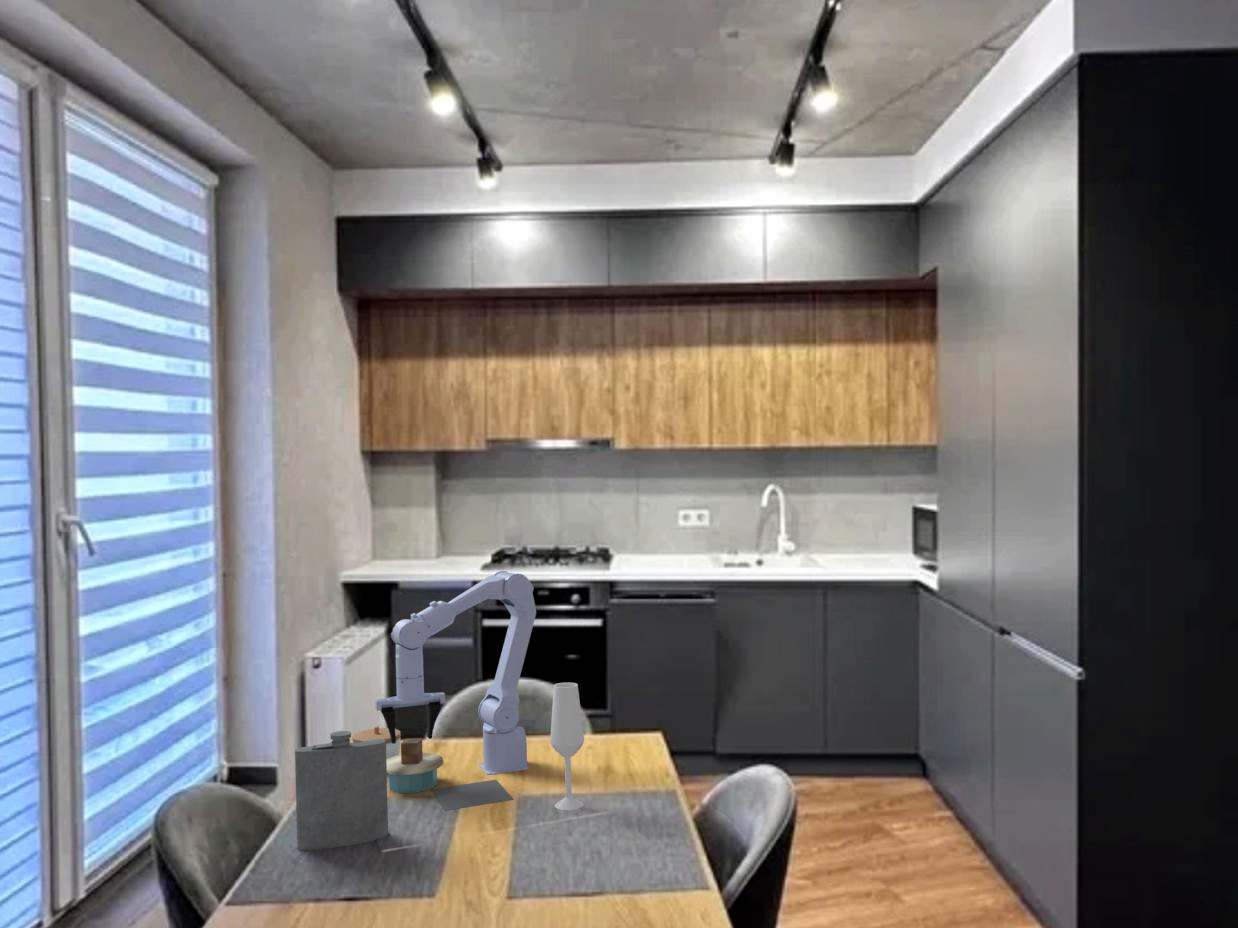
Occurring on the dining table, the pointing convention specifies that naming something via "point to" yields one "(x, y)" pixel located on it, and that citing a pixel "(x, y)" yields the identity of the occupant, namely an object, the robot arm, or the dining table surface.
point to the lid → (413, 759)
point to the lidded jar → (380, 734)
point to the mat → (471, 794)
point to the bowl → (412, 782)
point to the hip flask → (341, 793)
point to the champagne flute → (567, 734)
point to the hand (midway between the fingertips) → (411, 739)
